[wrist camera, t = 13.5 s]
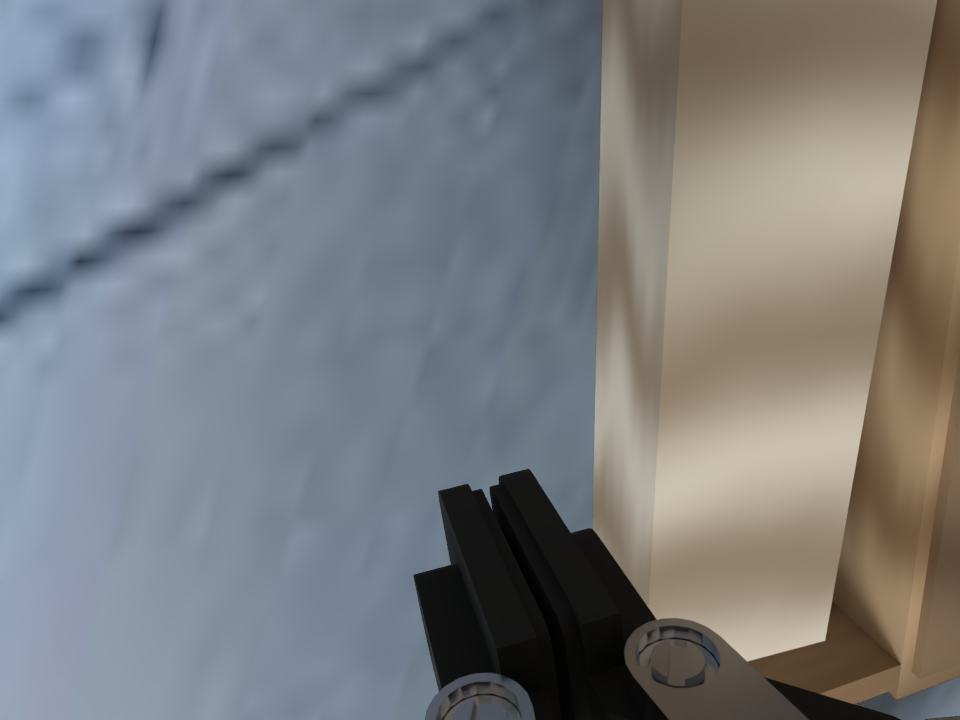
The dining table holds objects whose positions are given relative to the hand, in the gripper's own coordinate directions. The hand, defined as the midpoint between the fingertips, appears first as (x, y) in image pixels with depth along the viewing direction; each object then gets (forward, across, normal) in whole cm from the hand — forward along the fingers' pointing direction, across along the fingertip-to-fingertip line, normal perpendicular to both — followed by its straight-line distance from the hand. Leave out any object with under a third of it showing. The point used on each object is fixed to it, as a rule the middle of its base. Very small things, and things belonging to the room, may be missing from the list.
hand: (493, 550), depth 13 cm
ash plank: (+8, -8, -1) cm, 11 cm away
